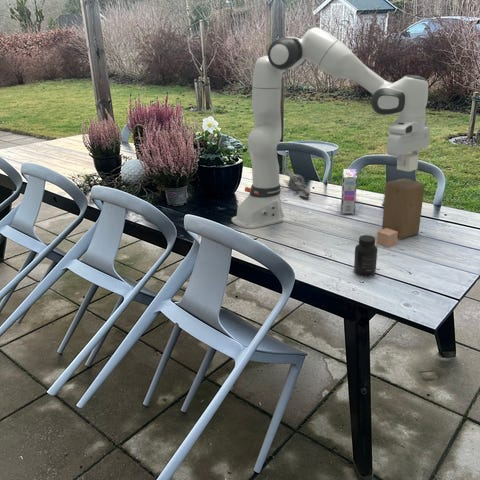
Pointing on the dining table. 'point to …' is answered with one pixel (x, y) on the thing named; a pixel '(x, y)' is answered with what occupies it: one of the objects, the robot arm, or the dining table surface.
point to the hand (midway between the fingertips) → (407, 164)
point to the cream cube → (409, 162)
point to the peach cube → (387, 237)
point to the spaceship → (298, 184)
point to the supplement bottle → (365, 256)
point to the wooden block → (403, 207)
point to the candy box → (348, 191)
